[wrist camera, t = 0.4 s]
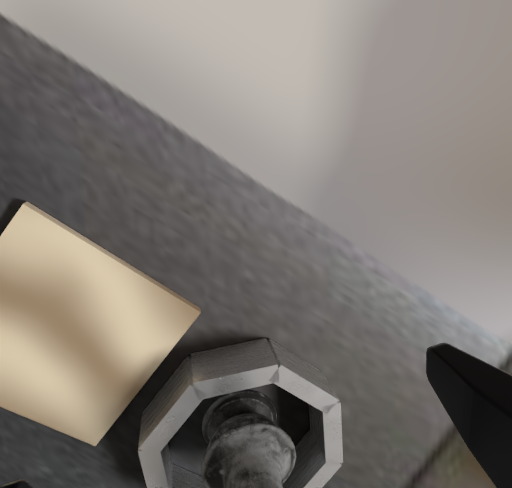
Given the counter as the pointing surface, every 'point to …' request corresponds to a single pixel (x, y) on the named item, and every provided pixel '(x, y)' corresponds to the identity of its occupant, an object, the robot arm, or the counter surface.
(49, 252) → the beige pad
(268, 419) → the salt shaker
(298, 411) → the counter surface
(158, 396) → the white octagonal ring
